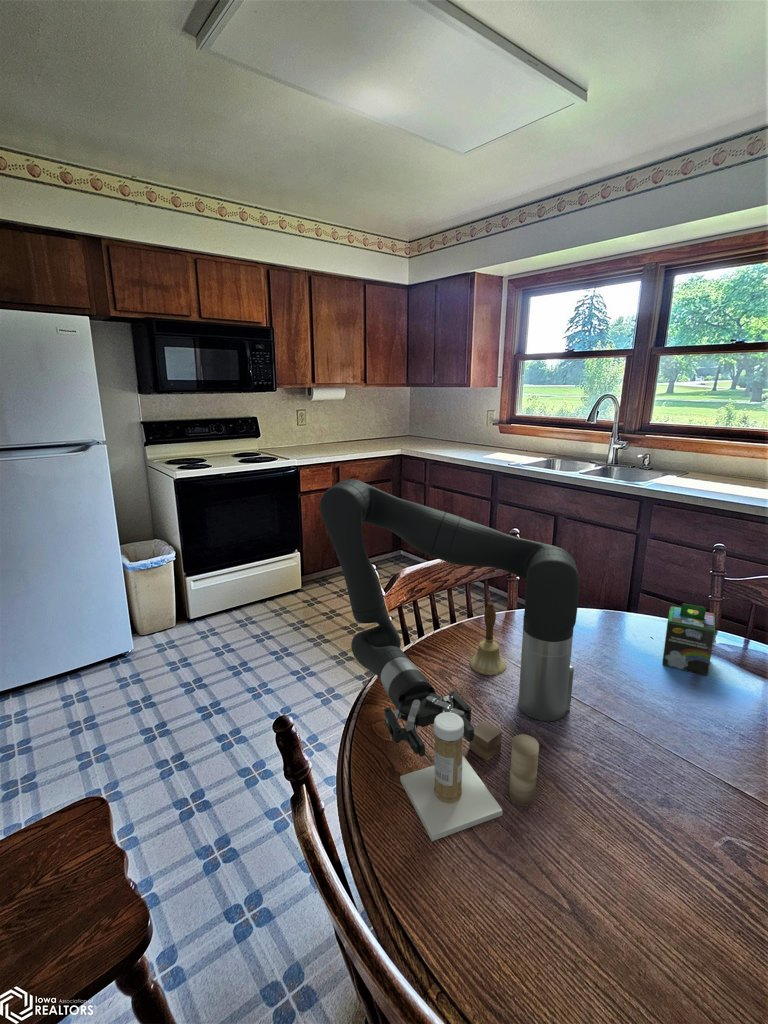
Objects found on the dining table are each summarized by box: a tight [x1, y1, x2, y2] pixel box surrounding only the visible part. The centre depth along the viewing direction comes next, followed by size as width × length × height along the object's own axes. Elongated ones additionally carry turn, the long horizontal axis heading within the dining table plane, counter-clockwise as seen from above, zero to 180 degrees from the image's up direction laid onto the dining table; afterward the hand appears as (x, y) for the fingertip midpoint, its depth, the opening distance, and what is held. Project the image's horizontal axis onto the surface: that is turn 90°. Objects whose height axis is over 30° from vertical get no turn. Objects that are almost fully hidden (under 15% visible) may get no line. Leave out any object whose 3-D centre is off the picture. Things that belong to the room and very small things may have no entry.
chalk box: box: [662, 603, 716, 677], centre depth 113 cm, size 9×9×15 cm
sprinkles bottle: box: [433, 711, 464, 802], centre depth 78 cm, size 5×5×14 cm
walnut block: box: [468, 720, 503, 762], centre depth 89 cm, size 4×4×4 cm
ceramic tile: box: [399, 755, 504, 842], centre depth 79 cm, size 12×12×1 cm
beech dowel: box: [508, 734, 540, 807], centre depth 78 cm, size 4×4×10 cm
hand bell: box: [469, 601, 507, 676], centre depth 113 cm, size 8×8×16 cm
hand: (447, 744), depth 78 cm, fingers open, 8 cm apart
